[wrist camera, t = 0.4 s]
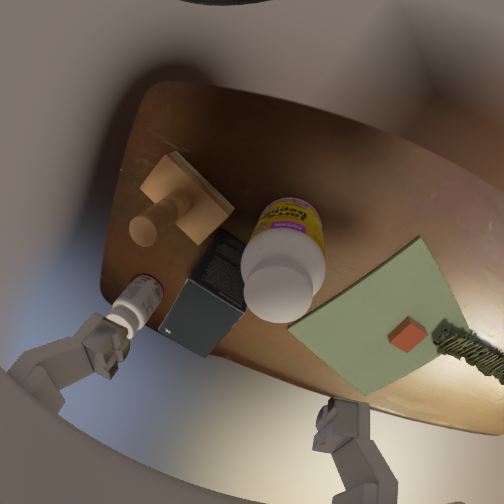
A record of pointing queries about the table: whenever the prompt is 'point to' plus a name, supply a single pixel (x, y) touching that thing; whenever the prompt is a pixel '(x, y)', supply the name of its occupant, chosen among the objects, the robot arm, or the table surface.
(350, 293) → the mat
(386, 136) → the table surface
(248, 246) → the supplement bottle
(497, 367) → the olive green textured bar
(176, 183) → the stamp
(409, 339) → the tile
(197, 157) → the table surface
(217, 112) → the table surface
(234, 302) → the box
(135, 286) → the pill bottle
